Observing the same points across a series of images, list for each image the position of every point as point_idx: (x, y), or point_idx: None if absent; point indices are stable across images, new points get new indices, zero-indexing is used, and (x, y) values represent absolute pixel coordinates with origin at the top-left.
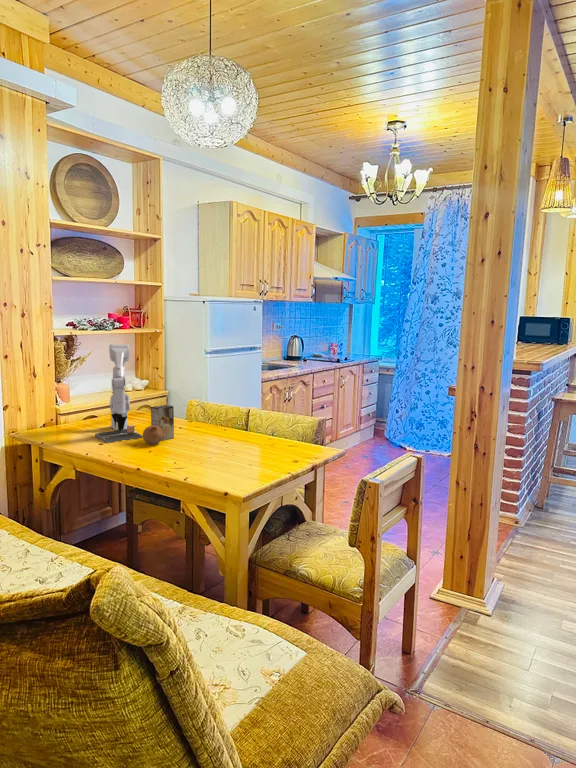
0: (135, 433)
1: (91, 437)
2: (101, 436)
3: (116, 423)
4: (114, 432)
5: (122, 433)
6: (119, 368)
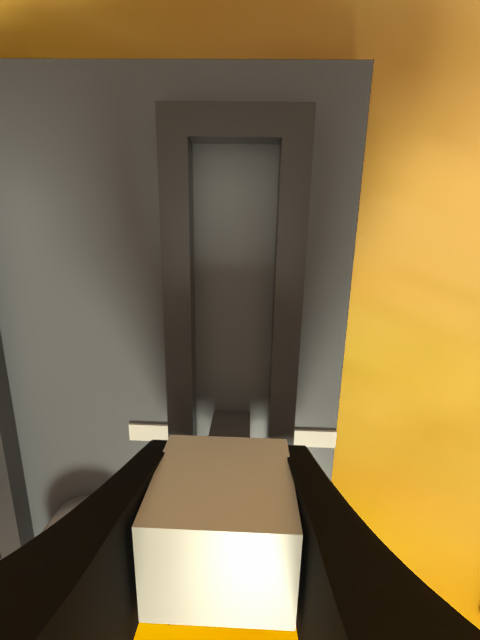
0: (4, 551)
1: (346, 14)
2: (98, 93)
3: (255, 512)
4: (176, 352)
5: (137, 438)
6: None
